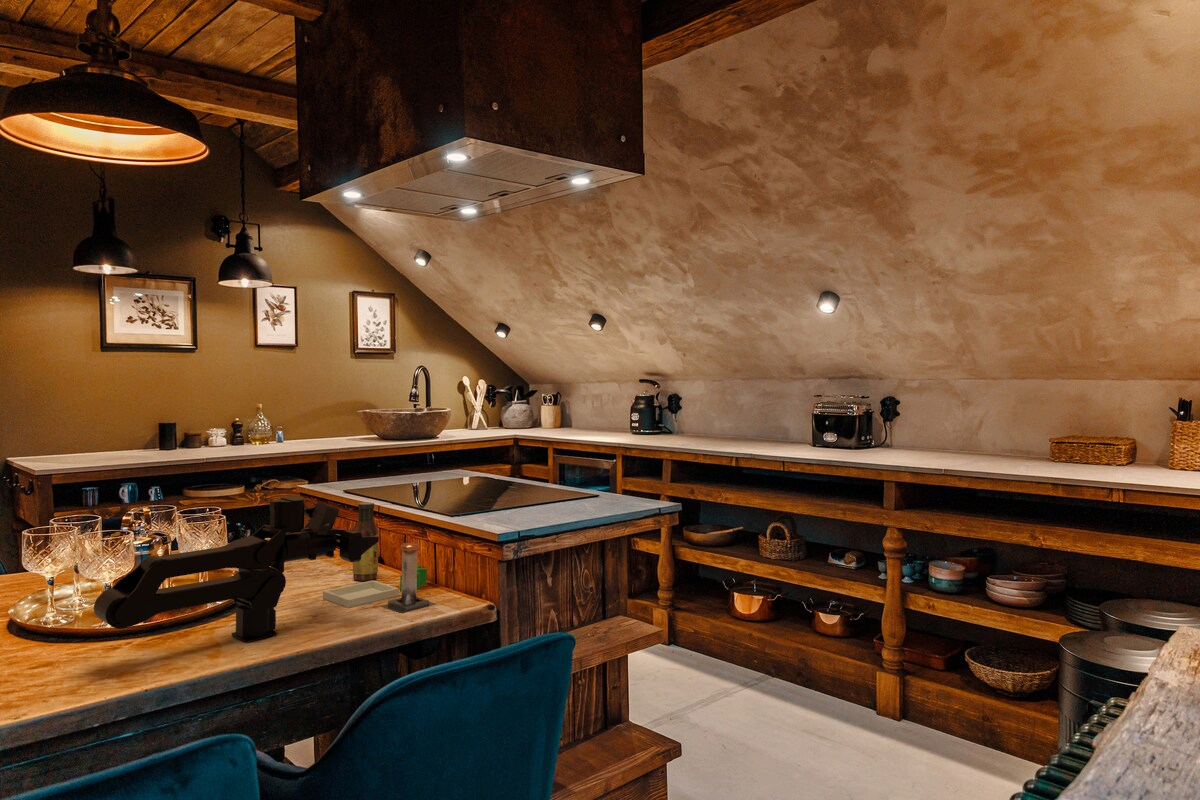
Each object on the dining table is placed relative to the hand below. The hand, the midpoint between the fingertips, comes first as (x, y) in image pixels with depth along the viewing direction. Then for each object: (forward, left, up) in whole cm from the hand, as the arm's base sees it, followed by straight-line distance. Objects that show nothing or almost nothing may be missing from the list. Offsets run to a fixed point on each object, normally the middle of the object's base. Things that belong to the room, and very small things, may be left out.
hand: (366, 536), depth 169 cm
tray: (+4, +7, -17) cm, 18 cm away
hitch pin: (+8, -6, -16) cm, 19 cm away
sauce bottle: (+15, +22, -17) cm, 31 cm away
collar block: (+8, -6, -17) cm, 19 cm away
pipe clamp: (+19, +6, -17) cm, 26 cm away
